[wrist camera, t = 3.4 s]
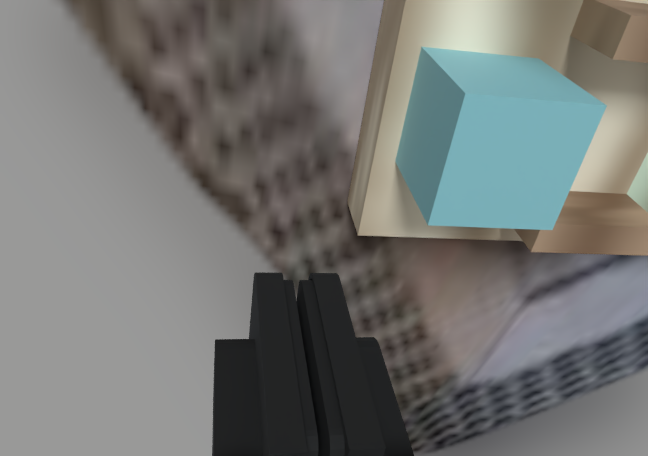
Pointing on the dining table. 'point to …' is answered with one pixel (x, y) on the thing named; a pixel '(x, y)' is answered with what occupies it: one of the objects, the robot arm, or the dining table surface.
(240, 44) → the dining table surface
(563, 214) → the board
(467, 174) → the teal cube
